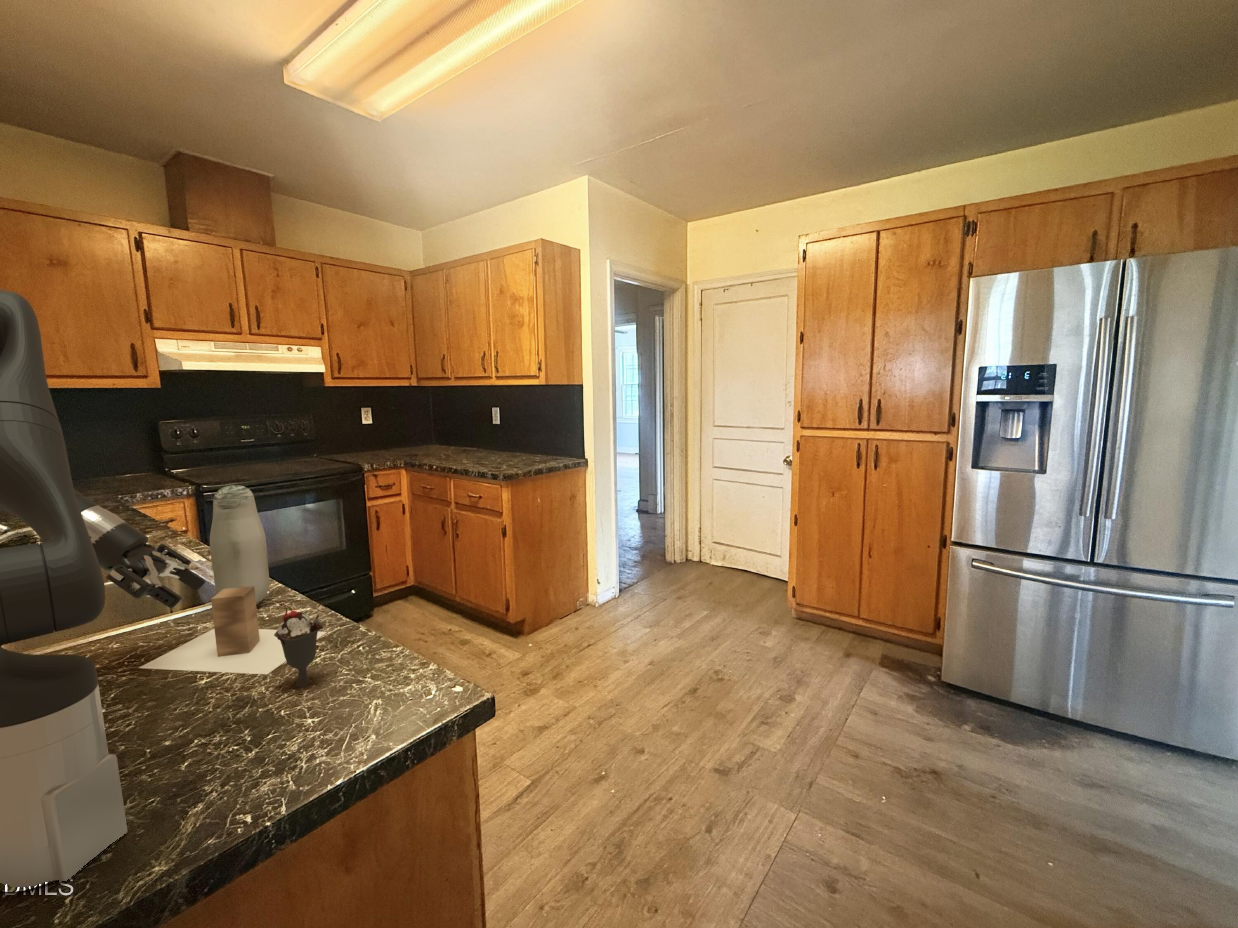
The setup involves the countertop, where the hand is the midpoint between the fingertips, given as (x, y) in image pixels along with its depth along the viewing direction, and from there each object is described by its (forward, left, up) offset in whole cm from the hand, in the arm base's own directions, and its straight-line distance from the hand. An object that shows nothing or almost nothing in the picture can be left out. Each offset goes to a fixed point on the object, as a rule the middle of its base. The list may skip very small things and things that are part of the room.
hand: (190, 594), depth 95 cm
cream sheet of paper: (-6, -2, -12) cm, 14 cm away
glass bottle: (+10, -22, -12) cm, 27 cm away
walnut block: (-6, -2, -11) cm, 13 cm away
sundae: (-26, +8, -12) cm, 30 cm away
